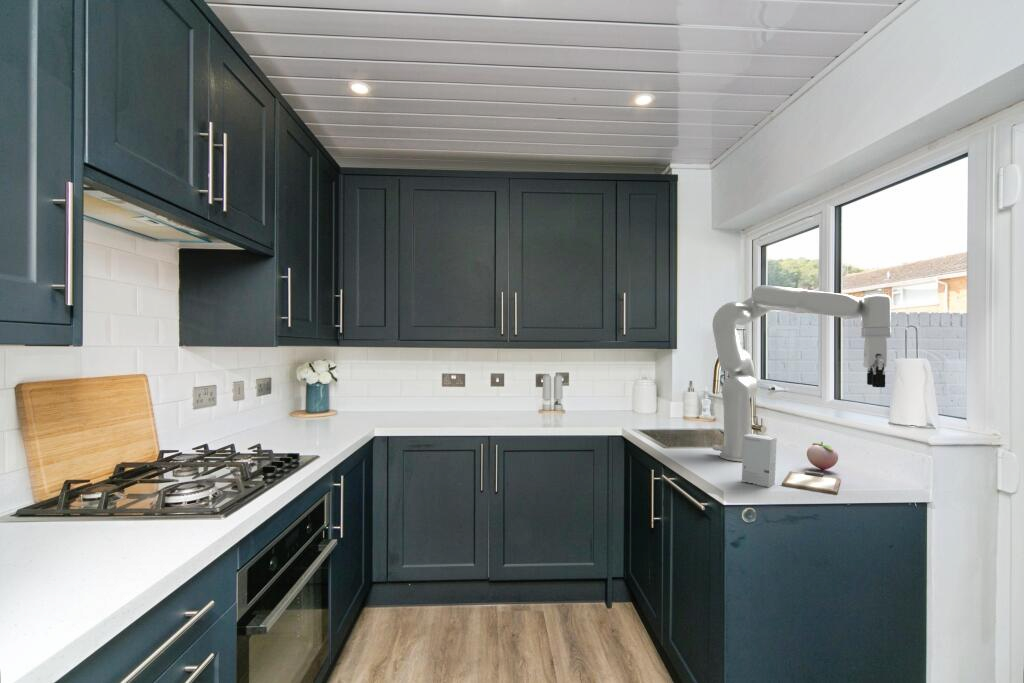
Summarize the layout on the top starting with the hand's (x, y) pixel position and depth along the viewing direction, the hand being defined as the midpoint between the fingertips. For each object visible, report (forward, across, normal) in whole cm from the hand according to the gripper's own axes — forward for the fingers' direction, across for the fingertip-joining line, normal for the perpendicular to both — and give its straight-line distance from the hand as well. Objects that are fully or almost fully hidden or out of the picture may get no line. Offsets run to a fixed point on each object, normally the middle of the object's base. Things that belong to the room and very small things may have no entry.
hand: (875, 385), depth 151 cm
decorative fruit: (+31, -4, -14) cm, 34 cm away
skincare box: (+31, +24, -33) cm, 51 cm away
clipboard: (+30, +16, -18) cm, 39 cm away
